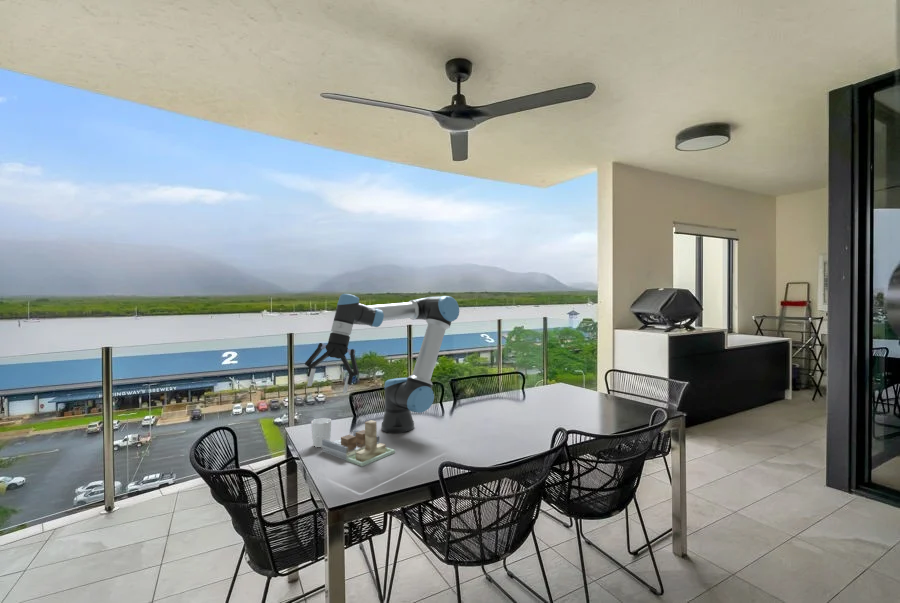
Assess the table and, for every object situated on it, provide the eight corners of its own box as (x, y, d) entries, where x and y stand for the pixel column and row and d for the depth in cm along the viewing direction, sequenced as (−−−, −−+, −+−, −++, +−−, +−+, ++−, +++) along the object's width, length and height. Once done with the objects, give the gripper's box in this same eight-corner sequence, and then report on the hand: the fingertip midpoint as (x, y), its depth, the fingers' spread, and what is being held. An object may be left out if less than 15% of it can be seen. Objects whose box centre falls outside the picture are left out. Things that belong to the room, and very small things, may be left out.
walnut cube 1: (349, 444, 153) (349, 434, 153) (356, 446, 151) (355, 436, 151) (340, 447, 150) (340, 437, 150) (347, 450, 148) (347, 439, 148)
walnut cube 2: (363, 439, 159) (363, 429, 159) (370, 441, 156) (370, 431, 156) (355, 442, 156) (355, 432, 156) (362, 444, 153) (362, 434, 153)
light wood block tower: (380, 450, 153) (380, 417, 153) (385, 452, 152) (385, 418, 152) (355, 460, 144) (355, 425, 144) (361, 462, 142) (360, 426, 142)
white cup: (335, 443, 164) (335, 419, 164) (320, 449, 157) (320, 424, 157) (322, 440, 168) (322, 417, 168) (307, 446, 161) (307, 421, 161)
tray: (379, 448, 157) (379, 445, 157) (395, 453, 151) (394, 449, 151) (346, 461, 144) (346, 457, 144) (362, 467, 139) (362, 463, 139)
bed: (355, 441, 166) (355, 429, 166) (379, 448, 157) (379, 436, 157) (322, 452, 153) (322, 439, 154) (346, 461, 144) (346, 448, 144)
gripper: (305, 326, 147) (290, 383, 143) (370, 338, 146) (357, 396, 142) (312, 329, 155) (298, 383, 150) (374, 340, 154) (361, 395, 150)
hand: (326, 389), depth 146 cm, fingers open, 13 cm apart
